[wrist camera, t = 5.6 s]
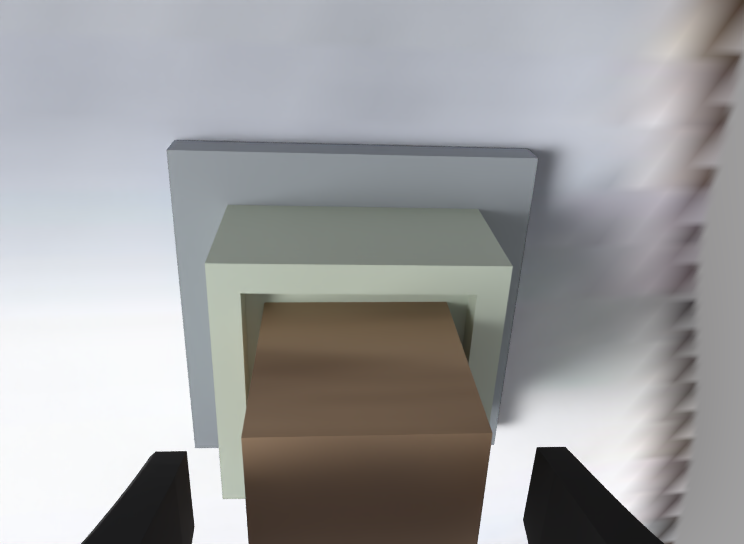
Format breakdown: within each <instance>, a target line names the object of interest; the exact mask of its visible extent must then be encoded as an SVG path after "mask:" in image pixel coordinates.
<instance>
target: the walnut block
mask: <svg viewBox="0 0 744 544" xmlns="http://www.w3.org/2000/svg"><path fill="white" fill-rule="evenodd" d="M491 441H492V430H491V427H490V424H489V421H488V419H487V416H486V413H485V410H484V407H483V404H482V401H481V399H480V396H479V393H478V390H477V387H476V384H475V381H474V379H473V376H472V373H471V370H470V367H469V364H468V361H467V359H466V356H465V353H464V350H463V347H462V344H461V341H460V338H459V336H458V333H457V330H456V327H455V324H454V321H453V318H452V316H451V313H450V310H449V307H448V304H447V302H265V303H264V309H263V314H262V320H261V326H260V332H259V338H258V343H257V349H256V355H255V361H254V366H253V372H252V378H251V384H250V390H249V395H248V401H247V407H246V413H245V418H244V424H243V430H242V436H241V443H242V457H243V471H244V485H245V499H246V513H247V527H248V541H249V544H477V542H478V535H479V528H480V520H481V513H482V506H483V499H484V491H485V484H486V477H487V470H488V462H489V455H490V448H491Z"/></svg>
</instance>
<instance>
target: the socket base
mask: <svg viewBox="0 0 744 544" xmlns="http://www.w3.org/2000/svg"><path fill="white" fill-rule="evenodd" d="M167 160H168V170H169V180H170V191H171V201H172V211H173V222H174V232H175V243H176V253H177V263H178V274H179V284H180V295H181V305H182V315H183V326H184V336H185V346H186V357H187V367H188V378H189V388H190V398H191V409H192V419H193V429H194V440H195V448H219V456H220V469H221V482H222V495H223V499H245V485H244V471H243V457H242V443H241V436H242V430H243V424H244V418H245V413H246V407H247V401H248V395H249V390H250V384H251V378H252V372H253V366H254V361H255V355H256V349H257V343H258V338H259V332H260V326H261V320H262V314H263V309H264V303H265V302H447V304H448V307H449V310H450V313H451V316H452V318H453V321H454V324H455V327H456V330H457V333H458V336H459V338H460V341H461V344H462V347H463V350H464V353H465V356H466V359H467V361H468V364H469V367H470V370H471V373H472V376H473V379H474V381H475V384H476V387H477V390H478V393H479V396H480V399H481V401H482V404H483V407H484V410H485V413H486V416H487V419H488V421H489V424H490V427H491V430H492V441H491V445H494V441H495V435H496V428H497V422H498V415H499V409H500V402H501V396H502V389H503V383H504V376H505V370H506V363H507V357H508V350H509V344H510V338H511V331H512V325H513V318H514V312H515V305H516V299H517V292H518V286H519V279H520V273H521V266H522V260H523V253H524V247H525V240H526V234H527V227H528V221H529V214H530V208H531V202H532V195H533V189H534V182H535V176H536V169H537V163H538V158H537V157H536V156H535V155H534V154H533V153H532V152H531V151H530V150H529V149H518V148H475V147H433V146H391V145H349V144H306V143H264V142H222V141H179V140H174V142H173V143H172V144H171V145H170V146H169V148H168V149H167Z"/></svg>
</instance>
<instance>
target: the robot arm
mask: <svg viewBox="0 0 744 544" xmlns="http://www.w3.org/2000/svg"><path fill="white" fill-rule="evenodd" d="M523 522H524V526H525V530H526V535H527V539H528V544H664V543H663V542H662V541H660V540H659V539H658V538H657V537H656V536H655V535H654V534H653V533H651V532H650V531H649V530H648V529H647V528H646V527H645V526H644V525H643V524H642V523H641V522H640V521H639V520H637V519H636V518H635V517H634V516H633V515H632V514H631V513H630V512H629V511H628V510H627V509H626V508H625V507H624V506H623V505H622V504H621V503H620V502H619V501H618V500H617V499H616V498H615V497H614V496H613V495H612V494H611V493H610V492H609V491H608V490H607V489H606V488H605V487H604V486H603V485H602V484H601V483H600V482H599V481H598V480H597V479H596V478H595V477H594V476H593V475H592V474H591V473H590V472H589V471H588V470H587V469H586V468H585V467H584V466H583V464H582V463H581V462H580V461H579V460H578V459H577V458H576V457H575V456H574V455H573V454H572V453H571V452H570V451H569V450H568V449H567V448H566V447H537V449H536V454H535V460H534V465H533V470H532V475H531V481H530V486H529V491H528V497H527V502H526V507H525V512H524V518H523ZM193 532H194V518H193V509H192V499H191V489H190V480H189V470H188V460H187V451H171V452H155V453H154V454H153V455H151V456H150V458H149V459H148V461H147V462H146V463H145V465H144V466H143V467H142V469H141V470H140V472H139V473H138V474H137V476H136V477H135V478H134V480H133V481H132V482H131V484H130V485H129V486H128V488H127V489H126V490H125V491H124V493H123V494H122V495H121V497H120V498H119V499H118V500H117V502H116V503H115V504H114V505H113V507H112V508H111V509H110V510H109V511H108V513H107V514H106V515H105V516H104V517H103V519H102V520H101V521H100V522H99V524H98V525H97V526H96V527H95V528H94V530H93V531H92V532H91V533H90V534H89V535H88V537H87V538H86V539H85V540H84V541H83V542H82V543H81V544H192V538H193Z"/></svg>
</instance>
